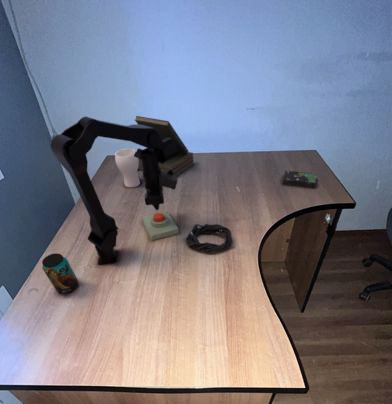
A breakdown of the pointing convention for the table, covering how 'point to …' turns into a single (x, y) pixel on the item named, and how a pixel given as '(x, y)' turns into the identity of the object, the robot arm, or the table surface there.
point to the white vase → (128, 166)
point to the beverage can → (60, 273)
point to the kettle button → (158, 217)
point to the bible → (167, 131)
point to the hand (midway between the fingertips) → (157, 209)
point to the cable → (209, 230)
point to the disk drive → (299, 179)
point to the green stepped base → (160, 226)
